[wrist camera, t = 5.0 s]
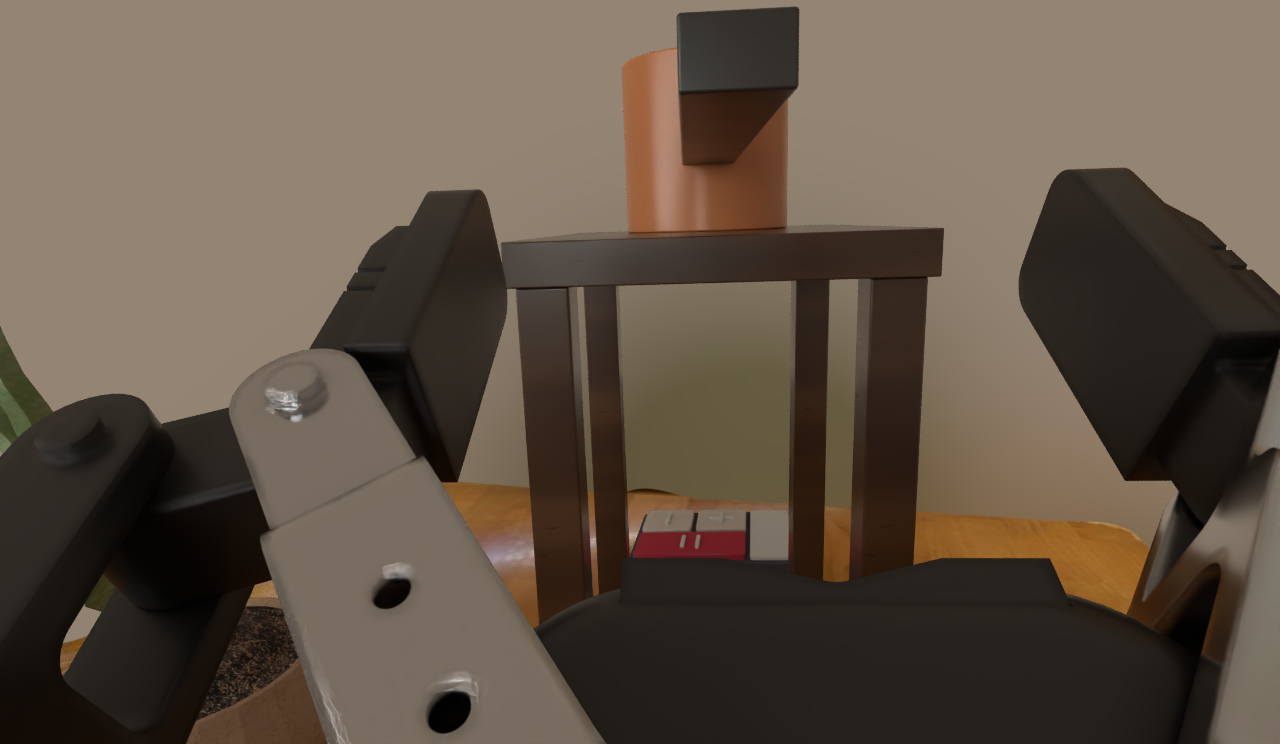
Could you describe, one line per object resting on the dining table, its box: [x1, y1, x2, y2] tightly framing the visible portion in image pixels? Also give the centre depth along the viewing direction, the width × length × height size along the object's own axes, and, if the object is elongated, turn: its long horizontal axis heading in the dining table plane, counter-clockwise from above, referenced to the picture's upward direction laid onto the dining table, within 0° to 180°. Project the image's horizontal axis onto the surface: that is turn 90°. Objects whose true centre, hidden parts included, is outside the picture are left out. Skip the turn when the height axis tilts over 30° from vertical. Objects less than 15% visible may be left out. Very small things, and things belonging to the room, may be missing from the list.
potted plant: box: [0, 327, 328, 744], centre depth 38 cm, size 22×18×30 cm
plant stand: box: [501, 225, 944, 625], centre depth 34 cm, size 18×14×32 cm
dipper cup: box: [622, 7, 799, 233], centre depth 25 cm, size 25×8×8 cm, turn 176°
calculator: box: [630, 509, 789, 572], centre depth 67 cm, size 11×4×15 cm
